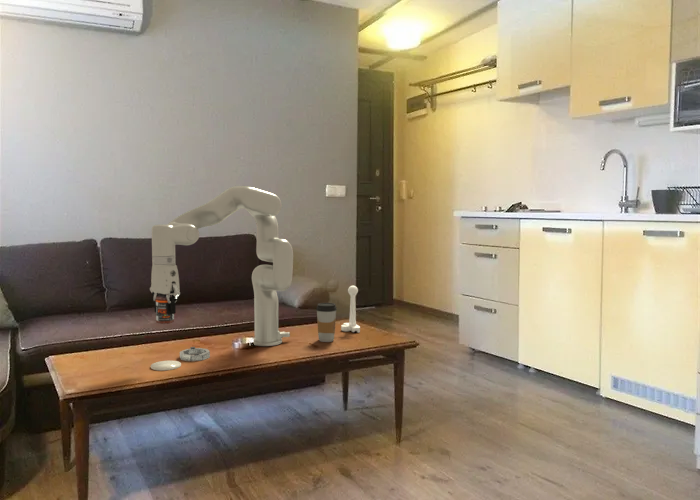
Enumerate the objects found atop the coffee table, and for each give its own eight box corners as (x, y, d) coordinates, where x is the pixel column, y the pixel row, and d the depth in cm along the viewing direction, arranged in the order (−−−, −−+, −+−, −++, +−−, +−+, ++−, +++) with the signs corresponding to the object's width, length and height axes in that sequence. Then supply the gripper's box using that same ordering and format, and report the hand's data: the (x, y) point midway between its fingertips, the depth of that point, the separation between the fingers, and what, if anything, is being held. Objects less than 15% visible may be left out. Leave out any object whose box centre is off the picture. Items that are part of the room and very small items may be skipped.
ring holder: (206, 352, 220) (206, 345, 220) (211, 359, 211) (211, 352, 211) (178, 355, 216) (178, 348, 216) (182, 362, 207) (182, 355, 207)
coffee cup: (334, 343, 236) (334, 306, 235) (314, 342, 237) (314, 305, 236) (338, 338, 244) (338, 302, 243) (318, 337, 245) (318, 302, 244)
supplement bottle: (156, 324, 197) (155, 291, 196) (155, 321, 202) (155, 289, 201) (174, 323, 199) (173, 290, 198) (173, 320, 204) (173, 288, 203)
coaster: (179, 361, 209) (178, 359, 209) (182, 368, 199) (182, 366, 199) (149, 364, 205) (149, 362, 205) (152, 371, 195) (152, 370, 195)
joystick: (362, 332, 255) (362, 287, 254) (346, 333, 252) (346, 288, 251) (352, 327, 266) (352, 283, 264) (336, 328, 263) (337, 284, 261)
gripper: (189, 261, 197) (190, 314, 198) (158, 258, 207) (159, 308, 208) (170, 263, 191) (171, 318, 192) (139, 259, 201) (140, 311, 202)
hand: (165, 312), depth 200 cm, fingers closed on supplement bottle, 6 cm apart
